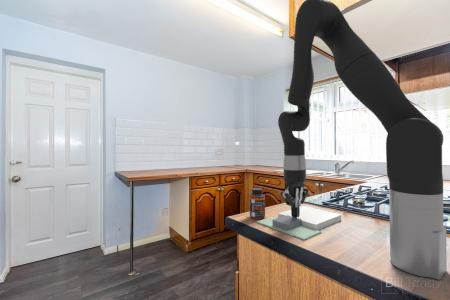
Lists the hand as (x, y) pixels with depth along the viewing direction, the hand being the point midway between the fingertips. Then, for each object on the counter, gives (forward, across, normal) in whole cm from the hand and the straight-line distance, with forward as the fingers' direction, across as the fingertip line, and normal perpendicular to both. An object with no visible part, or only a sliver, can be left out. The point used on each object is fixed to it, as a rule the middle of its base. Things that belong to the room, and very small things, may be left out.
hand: (295, 216), depth 80 cm
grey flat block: (+2, -4, 0) cm, 5 cm away
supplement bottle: (+3, -5, +14) cm, 15 cm away
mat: (+3, -5, 0) cm, 6 cm away
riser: (+3, +8, 0) cm, 8 cm away
